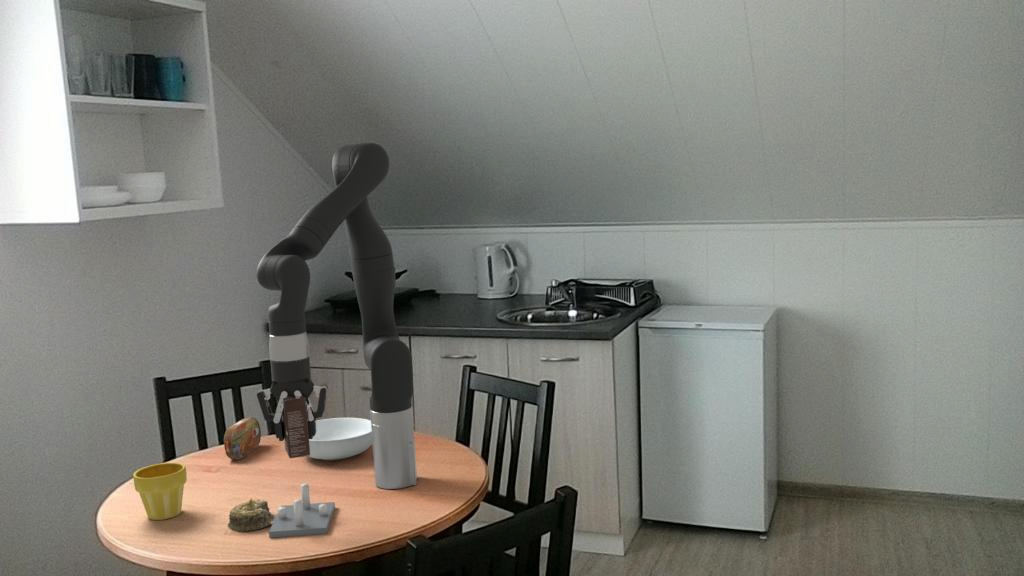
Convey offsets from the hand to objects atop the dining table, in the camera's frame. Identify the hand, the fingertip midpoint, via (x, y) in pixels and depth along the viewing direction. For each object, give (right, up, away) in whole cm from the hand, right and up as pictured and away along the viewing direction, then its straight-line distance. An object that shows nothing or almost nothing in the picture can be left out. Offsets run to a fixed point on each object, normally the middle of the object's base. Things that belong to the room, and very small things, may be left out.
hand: (296, 438), depth 186 cm
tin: (-25, -12, +50) cm, 57 cm away
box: (0, -3, 0) cm, 3 cm away
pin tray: (+1, -17, +2) cm, 17 cm away
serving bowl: (-1, -12, +46) cm, 47 cm away
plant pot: (-30, -18, +10) cm, 36 cm away
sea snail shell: (-10, -18, +3) cm, 21 cm away
